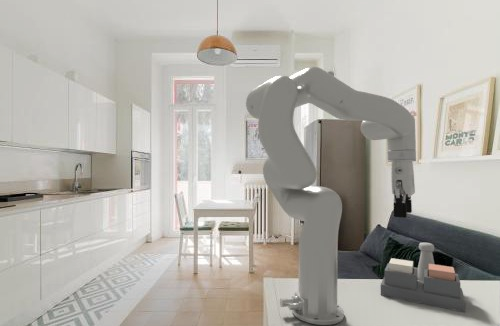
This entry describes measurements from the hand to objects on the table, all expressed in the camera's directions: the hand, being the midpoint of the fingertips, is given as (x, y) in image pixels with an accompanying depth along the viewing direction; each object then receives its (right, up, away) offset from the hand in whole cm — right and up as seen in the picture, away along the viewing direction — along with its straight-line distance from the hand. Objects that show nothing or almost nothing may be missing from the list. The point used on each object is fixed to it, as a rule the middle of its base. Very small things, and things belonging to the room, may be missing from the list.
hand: (403, 214), depth 89 cm
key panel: (+4, -23, -2) cm, 24 cm away
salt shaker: (+12, -24, +8) cm, 28 cm away
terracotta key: (+8, -18, -5) cm, 20 cm away
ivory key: (0, -18, 0) cm, 18 cm away
